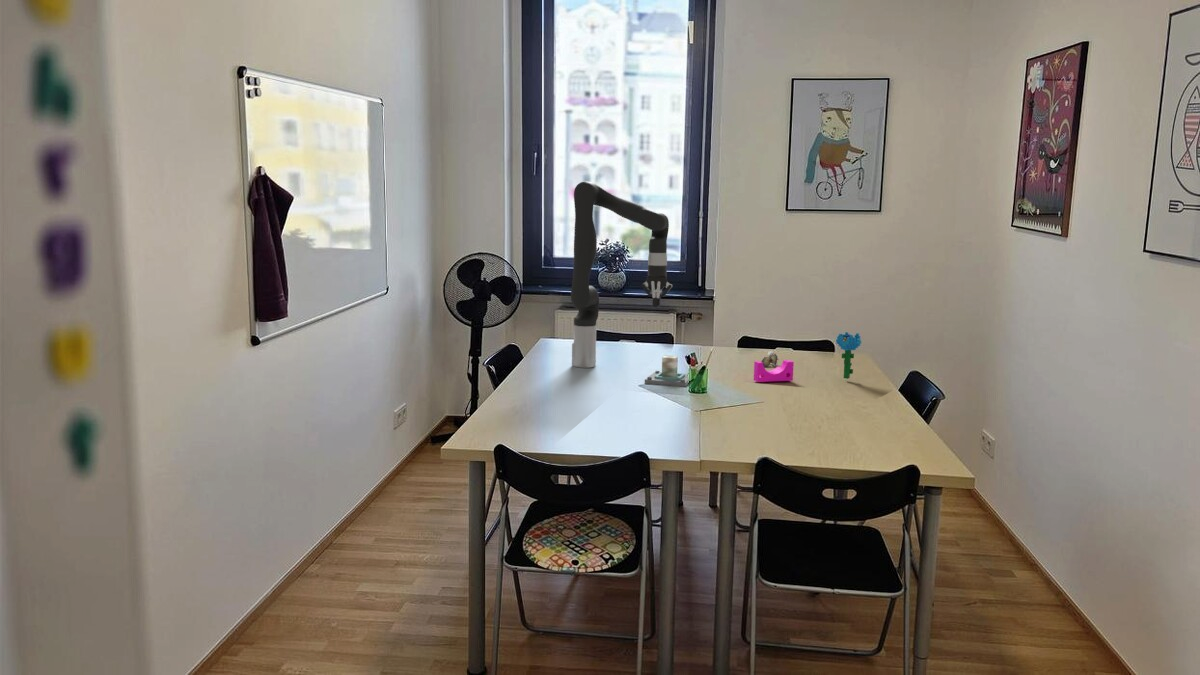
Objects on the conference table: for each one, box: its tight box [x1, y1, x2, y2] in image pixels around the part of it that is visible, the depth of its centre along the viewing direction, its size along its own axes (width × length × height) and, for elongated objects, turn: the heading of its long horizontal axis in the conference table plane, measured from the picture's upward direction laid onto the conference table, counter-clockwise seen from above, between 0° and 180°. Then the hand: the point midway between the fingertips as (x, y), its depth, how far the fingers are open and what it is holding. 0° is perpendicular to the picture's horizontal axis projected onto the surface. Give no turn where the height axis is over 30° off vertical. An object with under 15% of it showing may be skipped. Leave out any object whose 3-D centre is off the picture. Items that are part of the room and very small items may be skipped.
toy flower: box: [835, 331, 862, 380], centre depth 359 cm, size 9×9×18 cm
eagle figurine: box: [760, 350, 779, 369], centre depth 382 cm, size 8×7×9 cm
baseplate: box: [644, 370, 690, 387], centre depth 350 cm, size 16×16×2 cm
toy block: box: [753, 359, 795, 383], centre depth 356 cm, size 15×6×8 cm, turn 104°
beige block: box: [661, 355, 679, 378], centre depth 349 cm, size 5×5×8 cm
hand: (656, 307), depth 360 cm, fingers closed
